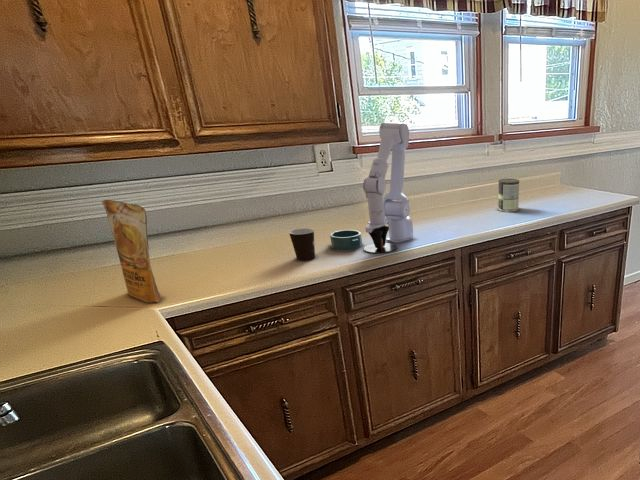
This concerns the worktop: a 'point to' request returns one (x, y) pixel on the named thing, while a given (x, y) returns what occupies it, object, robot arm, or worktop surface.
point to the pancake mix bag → (133, 248)
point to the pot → (346, 240)
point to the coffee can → (508, 195)
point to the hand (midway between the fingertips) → (380, 246)
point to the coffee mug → (303, 243)
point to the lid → (383, 249)
